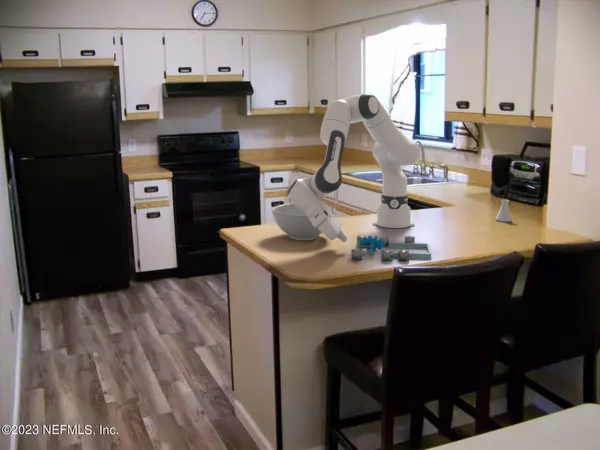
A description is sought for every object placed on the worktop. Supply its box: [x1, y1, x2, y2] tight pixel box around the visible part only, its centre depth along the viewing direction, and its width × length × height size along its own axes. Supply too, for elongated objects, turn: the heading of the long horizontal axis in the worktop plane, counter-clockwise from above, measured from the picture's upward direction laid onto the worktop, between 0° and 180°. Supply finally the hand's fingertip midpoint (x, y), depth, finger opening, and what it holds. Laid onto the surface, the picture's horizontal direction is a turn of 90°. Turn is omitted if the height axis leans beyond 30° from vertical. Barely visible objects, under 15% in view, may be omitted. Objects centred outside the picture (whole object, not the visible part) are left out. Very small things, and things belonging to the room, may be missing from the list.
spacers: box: [350, 234, 416, 263], centre depth 237 cm, size 26×24×4 cm
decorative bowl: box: [271, 203, 337, 241], centre depth 260 cm, size 27×27×12 cm
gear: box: [355, 235, 386, 256], centre depth 235 cm, size 11×6×10 cm
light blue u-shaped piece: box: [389, 241, 432, 260], centre depth 236 cm, size 16×15×2 cm
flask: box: [494, 199, 513, 223], centre depth 292 cm, size 7×7×10 cm
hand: (345, 240), depth 238 cm, fingers closed
